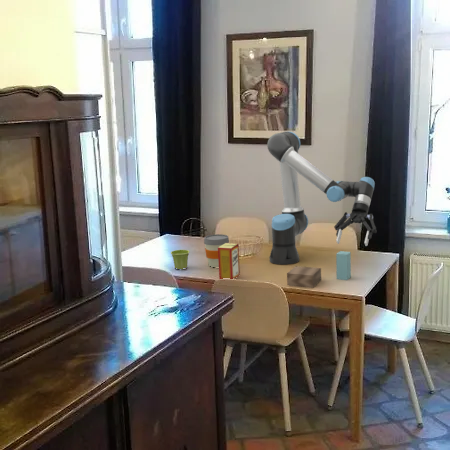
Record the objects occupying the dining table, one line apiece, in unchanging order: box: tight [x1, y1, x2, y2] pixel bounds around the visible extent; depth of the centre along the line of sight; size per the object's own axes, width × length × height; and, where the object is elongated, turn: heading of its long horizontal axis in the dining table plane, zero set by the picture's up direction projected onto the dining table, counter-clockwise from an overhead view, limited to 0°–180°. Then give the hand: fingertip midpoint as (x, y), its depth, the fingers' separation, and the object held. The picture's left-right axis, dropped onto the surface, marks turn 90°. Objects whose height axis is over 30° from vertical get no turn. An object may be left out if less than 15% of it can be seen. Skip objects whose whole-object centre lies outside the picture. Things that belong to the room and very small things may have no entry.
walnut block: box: [286, 265, 322, 289], centre depth 288 cm, size 12×12×6 cm
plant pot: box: [170, 249, 190, 270], centre depth 321 cm, size 9×9×9 cm
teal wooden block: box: [335, 250, 352, 281], centre depth 291 cm, size 5×5×12 cm
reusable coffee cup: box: [203, 233, 230, 268], centre depth 322 cm, size 13×13×15 cm
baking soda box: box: [218, 242, 241, 279], centre depth 300 cm, size 10×6×16 cm
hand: (351, 243), depth 298 cm, fingers open, 13 cm apart
